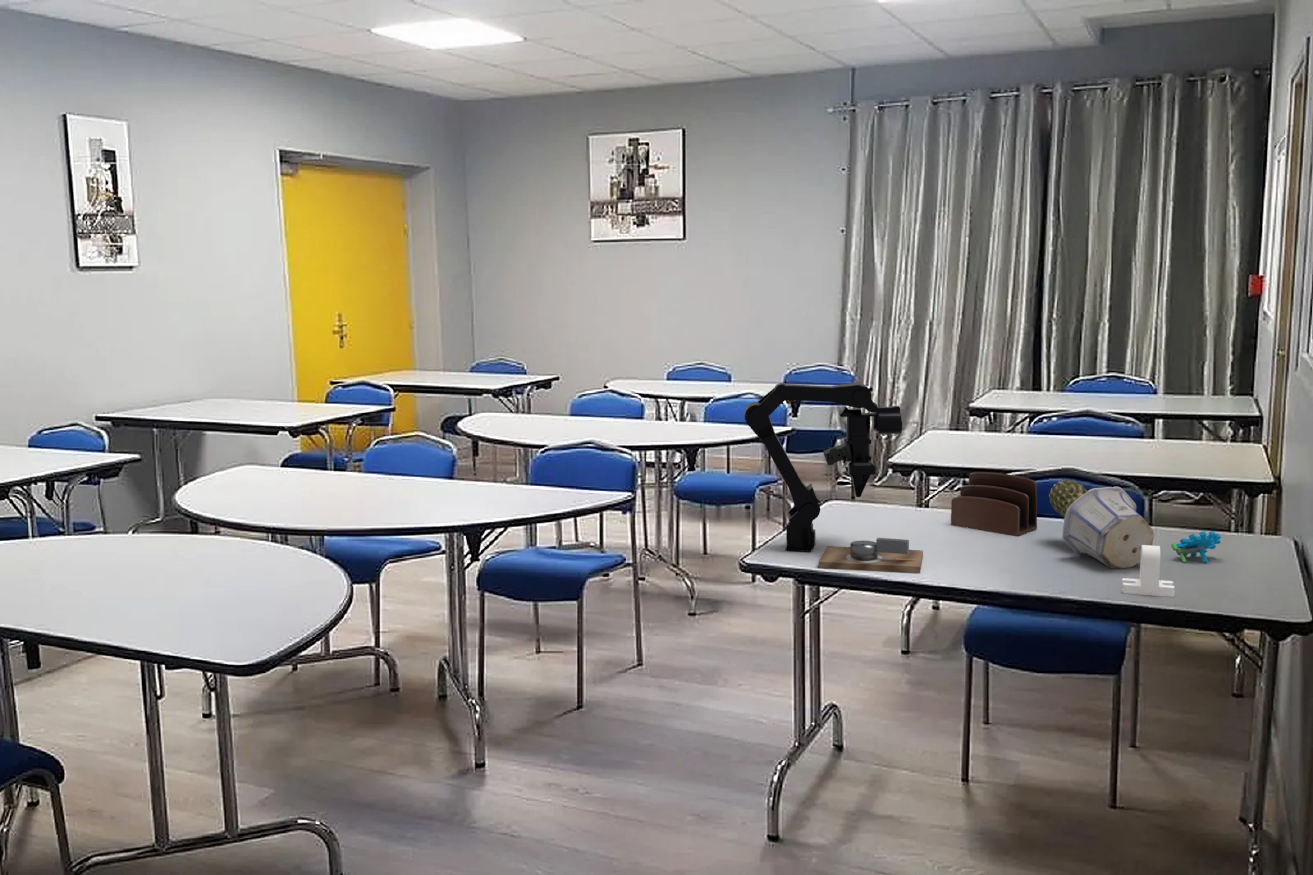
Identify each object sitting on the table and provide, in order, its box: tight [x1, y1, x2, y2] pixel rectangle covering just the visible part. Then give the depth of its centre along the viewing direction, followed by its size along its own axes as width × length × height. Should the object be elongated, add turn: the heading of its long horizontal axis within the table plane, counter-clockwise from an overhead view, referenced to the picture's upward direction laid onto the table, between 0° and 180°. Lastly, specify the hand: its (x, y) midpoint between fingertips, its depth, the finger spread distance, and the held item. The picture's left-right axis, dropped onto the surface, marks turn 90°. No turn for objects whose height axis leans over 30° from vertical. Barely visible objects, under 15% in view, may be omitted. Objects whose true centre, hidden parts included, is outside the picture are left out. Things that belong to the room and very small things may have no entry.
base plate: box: [818, 545, 924, 574], centre depth 260 cm, size 23×15×2 cm, turn 74°
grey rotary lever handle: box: [849, 537, 910, 560], centre depth 256 cm, size 13×6×4 cm, turn 67°
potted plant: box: [1048, 479, 1155, 570], centre depth 261 cm, size 18×18×30 cm
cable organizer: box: [1121, 545, 1176, 598], centre depth 231 cm, size 5×10×10 cm, turn 70°
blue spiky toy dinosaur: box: [1170, 530, 1222, 564], centre depth 254 cm, size 11×6×10 cm
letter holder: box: [950, 471, 1038, 537], centre depth 290 cm, size 10×20×14 cm, turn 44°
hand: (858, 496), depth 271 cm, fingers closed
